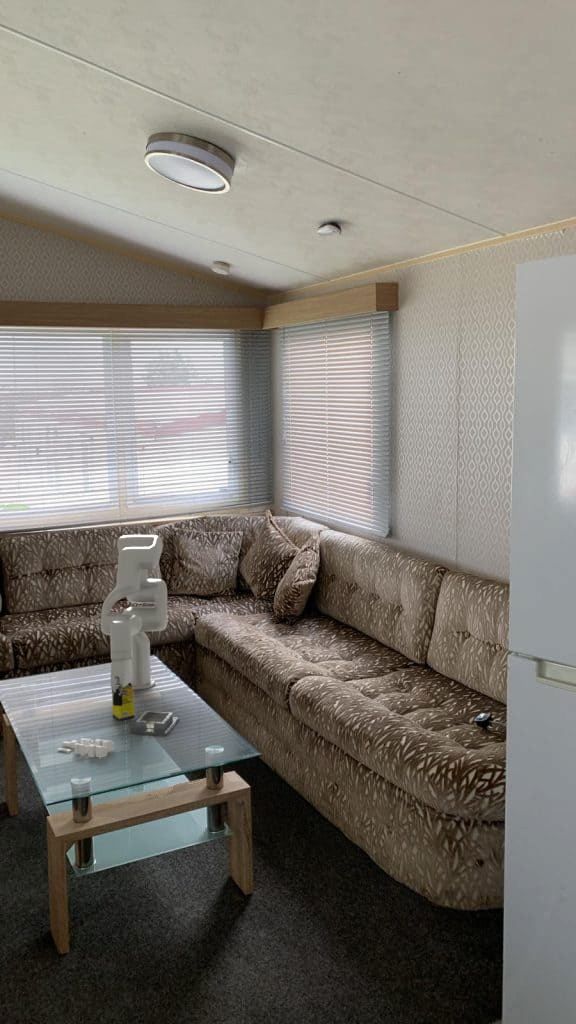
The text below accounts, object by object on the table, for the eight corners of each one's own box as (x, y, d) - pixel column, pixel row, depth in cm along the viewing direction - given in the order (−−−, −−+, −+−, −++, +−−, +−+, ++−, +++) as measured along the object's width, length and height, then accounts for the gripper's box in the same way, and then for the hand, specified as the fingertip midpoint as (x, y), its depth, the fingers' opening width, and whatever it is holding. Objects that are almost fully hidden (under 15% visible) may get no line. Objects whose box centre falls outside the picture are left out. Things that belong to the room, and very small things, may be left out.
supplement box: (134, 717, 304) (133, 688, 302) (119, 721, 301) (118, 691, 299) (127, 712, 309) (126, 683, 307) (112, 715, 305) (111, 686, 304)
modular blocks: (113, 751, 277) (113, 739, 276) (103, 759, 270) (103, 747, 270) (59, 744, 282) (58, 733, 281) (48, 753, 275) (47, 741, 275)
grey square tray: (143, 717, 304) (143, 708, 303) (178, 720, 301) (178, 710, 301) (129, 733, 290) (129, 723, 289) (166, 736, 288) (166, 726, 287)
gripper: (120, 647, 310) (121, 692, 312) (102, 660, 294) (103, 708, 296) (140, 647, 309) (141, 693, 311) (122, 661, 292) (124, 709, 294)
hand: (123, 700), depth 303 cm, fingers open, 9 cm apart
